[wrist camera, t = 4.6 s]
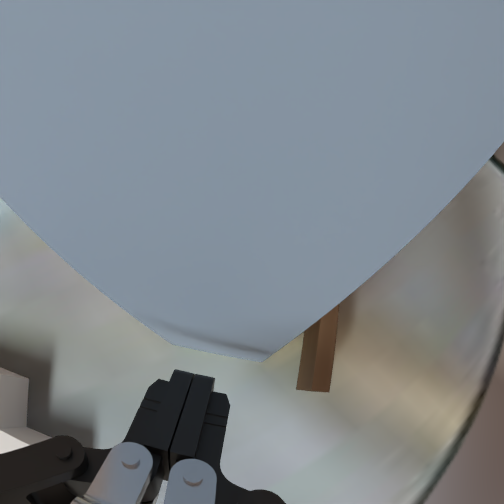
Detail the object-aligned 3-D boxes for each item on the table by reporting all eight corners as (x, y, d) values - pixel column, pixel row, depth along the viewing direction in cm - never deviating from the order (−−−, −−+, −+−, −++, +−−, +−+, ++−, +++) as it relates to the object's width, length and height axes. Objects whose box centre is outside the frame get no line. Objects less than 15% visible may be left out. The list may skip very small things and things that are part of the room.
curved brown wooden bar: (125, 354, 19) (102, 346, 15) (227, 64, 32) (228, 37, 29) (310, 391, 18) (329, 392, 15) (329, 81, 32) (337, 55, 28)
